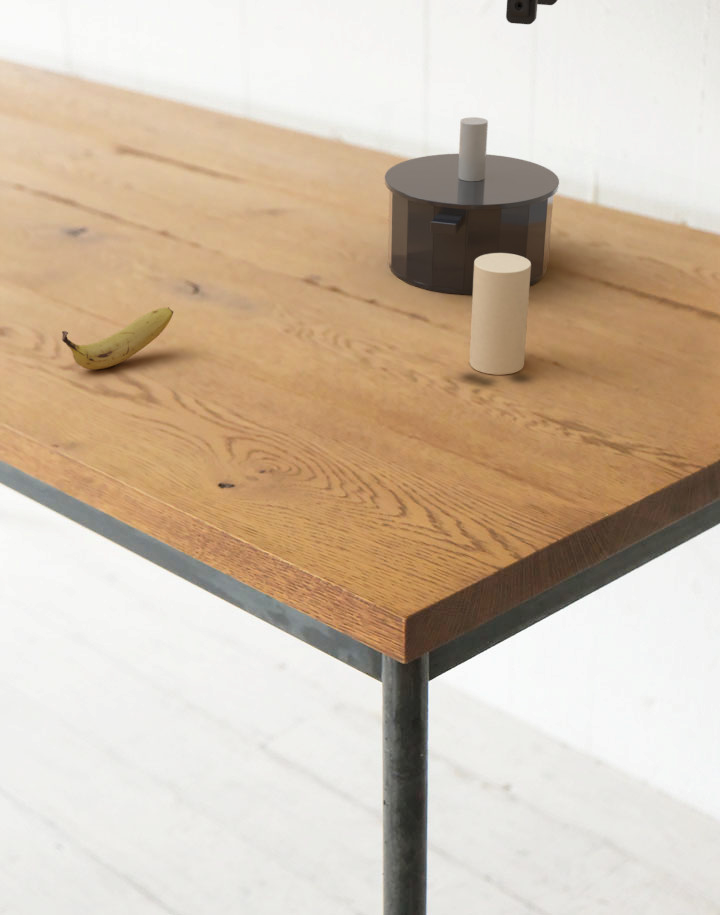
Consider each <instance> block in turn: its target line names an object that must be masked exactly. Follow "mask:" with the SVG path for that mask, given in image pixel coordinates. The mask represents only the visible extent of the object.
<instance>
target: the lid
mask: <svg viewBox="0 0 720 915" xmlns="http://www.w3.org/2000/svg"><path fill="white" fill-rule="evenodd" d="M488 126H489V121H488V119H486V118H483V117H478V116H477V117H474V116H472V117H471V116H470V117H464V118H461V119H460V120H459V143H458V144H459V145H458V148H459V149H458V153H444V154H443V153H442V154H434V155H433V154H432V155H426V156H419V157H415V158H411V159H407V160H404V161H401V162H398V163H397V164H395V165H392V166H391V167H390V168H388V169H387V171H386V172H385V174H384V177H383V178H384V179H383V180H384V181H383V182H384V185H385V187H386V188H387V189H388V191H389V190H390V191H391V192H393V193H394V194H396V195H398V196H400V197H402V198H405V199H407V200H410V201H413V202H417V203H421V204H425V205H430V206H436V207H443V208H451V209H466V210H493V209H507V208H514V207H521V206H526V205H530V204H534V203H538V202H540V201H543V200H546V199H548V198H550V197H551V196H553V197H554V196H555V195H556V193H557V192H558V190H559V189H560V188H559V187H560V179H559V177H558V175H557V174H556V173H555V172H554V171H553V170H551V169H549V168H547V167H545V166H543V165H540V164H538V163H535V162H532V161H528V160H526V159H525V160H524V159H521V158H517V157H511V156H505V155H497V154H487V150H488V149H487V146H488V128H489V127H488Z"/></svg>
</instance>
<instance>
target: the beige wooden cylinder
mask: <svg viewBox="0 0 720 915" xmlns="http://www.w3.org/2000/svg"><path fill="white" fill-rule="evenodd" d="M530 272H531V262H530V261H529V260H528V259H526V258H524V257H522V256H519V255H515V254H509V253H491V254H485V255H482V256H479V257H478V258H476V259H475V261H474V277H473V295H472V297H471V299H472V301H471V321H470V323H471V325H470V343H469V365H470V367H471V368H473V369H474V371H475V370H476V371H478V372H480V373H482V374H487V375H494V376H495V375H496V376H503V375H511V374H515V373H518V372H519V371H521V370H522V369H523V368H524V367H525V357H526V344H527V343H526V342H527V327H528V315H529V314H528V313H529V299H530V286H531V285H530Z"/></svg>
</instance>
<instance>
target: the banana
mask: <svg viewBox="0 0 720 915" xmlns="http://www.w3.org/2000/svg"><path fill="white" fill-rule="evenodd" d="M173 315H174V311H173V310H172V309H171V308H170V307H160V308H156V309H154V310H151V311H149V312H147V313H146V314H144V315H141V316H140V317H138V318H137V319H135V320H134V321H132V322H131V323H129V324H128V325H126V326H125V327H124V328H122V329H120V330H119V331H117V332H115V333H113V334H112V335H109V336H108V337H105V338H103V339H101V340H99V341H96V342H93V343H88V344H76V343H74V342H73V341H71V340H70V339H68V334H69V331H66V330H65V331H64V330H63V331H61V333H62V338H61V341H62V342H63V343H65V344H66V346H67V347H68V348H69V349H70V350H71V352H72V355H73V360H74V362H75V363H76V364H77V365H79V367H81V368H83V369H87V370H96V371H97V370H103V369H107V368H111V367H114V366H116V365H118V364H121V363H122V362H124V361H126V360H128V359H129V358H131V357H132V356H134V355H136V354H137V353H138V352H140V351H141V350H142V349H144V348H145V347H147V346H148V345H149V344H150V343H152V342H153V341H154V340H156V338H158V336H160V335H161V333H163V331H164V330H165V329H166V327H167V326H168V325H169V323H170V321H171V319H172V317H173Z"/></svg>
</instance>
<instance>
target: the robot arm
mask: <svg viewBox="0 0 720 915" xmlns="http://www.w3.org/2000/svg"><path fill="white" fill-rule="evenodd" d="M557 2H558V0H506V14H505V19H506V21H507V22H508V23H510V24H515V25H516V24H517V25H531V24H533V23H534V22H535V21H536V19H537V14H538V13H537V12H538V5H540V6H553V5H555V4H556V3H557Z"/></svg>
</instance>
